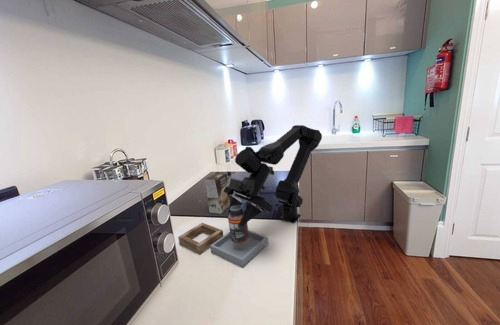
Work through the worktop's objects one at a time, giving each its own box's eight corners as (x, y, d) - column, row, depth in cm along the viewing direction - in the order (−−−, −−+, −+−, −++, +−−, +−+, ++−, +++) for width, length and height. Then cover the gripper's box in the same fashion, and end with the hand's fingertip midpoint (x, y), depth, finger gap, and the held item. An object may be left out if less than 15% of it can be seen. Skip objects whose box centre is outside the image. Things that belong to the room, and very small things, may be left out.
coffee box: (221, 214, 100) (217, 179, 96) (209, 212, 102) (204, 178, 98) (230, 205, 108) (227, 173, 104) (218, 204, 110) (215, 172, 106)
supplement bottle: (244, 231, 78) (241, 201, 75) (251, 240, 73) (248, 208, 70) (228, 237, 76) (224, 206, 73) (234, 246, 71) (230, 213, 68)
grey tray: (237, 232, 84) (237, 226, 84) (268, 243, 76) (268, 236, 76) (210, 252, 74) (210, 245, 74) (243, 267, 66) (242, 260, 65)
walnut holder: (203, 229, 88) (202, 222, 88) (223, 237, 82) (222, 230, 81) (179, 244, 80) (178, 236, 79) (200, 254, 73) (198, 246, 73)
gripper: (224, 163, 78) (201, 204, 74) (263, 172, 64) (236, 223, 60) (244, 178, 85) (223, 216, 81) (282, 189, 71) (260, 236, 67)
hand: (234, 222), depth 72 cm, fingers closed on supplement bottle, 6 cm apart
